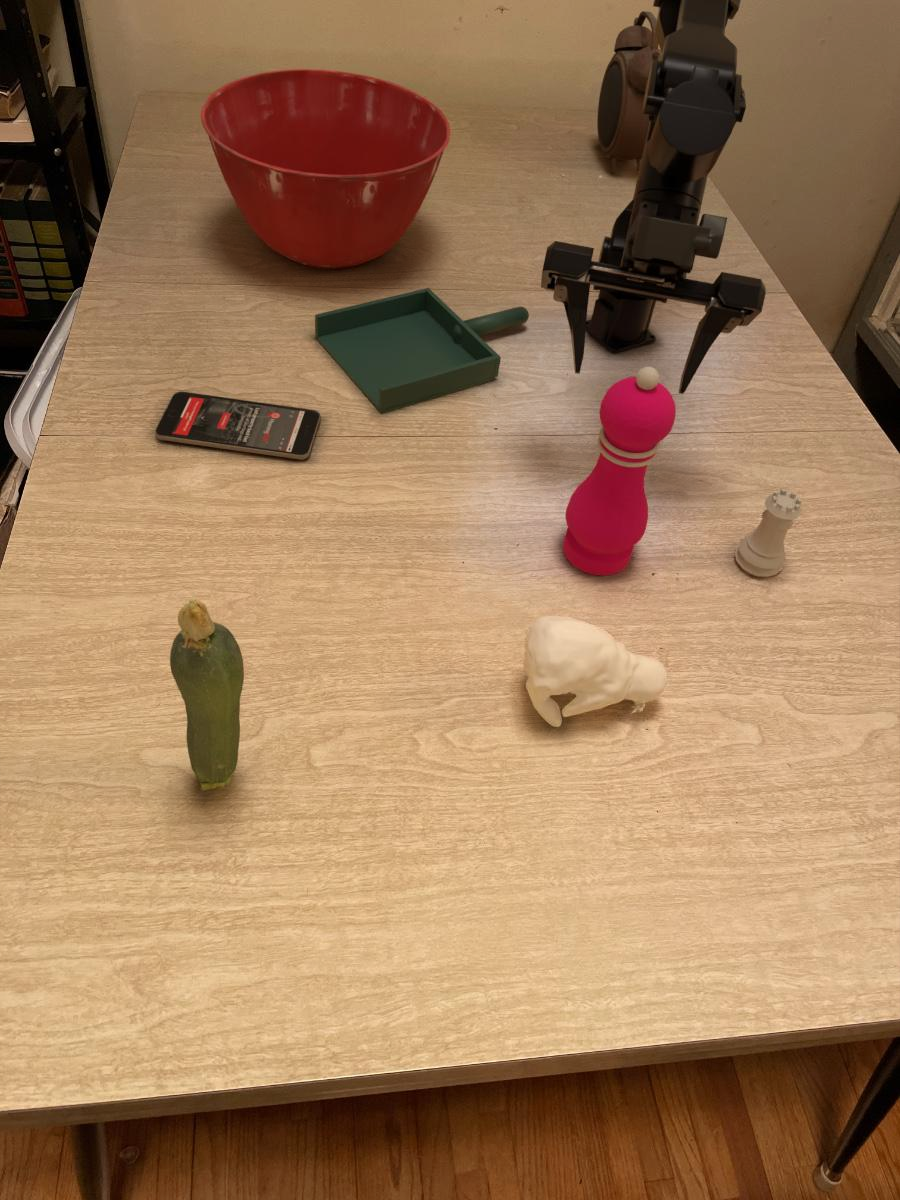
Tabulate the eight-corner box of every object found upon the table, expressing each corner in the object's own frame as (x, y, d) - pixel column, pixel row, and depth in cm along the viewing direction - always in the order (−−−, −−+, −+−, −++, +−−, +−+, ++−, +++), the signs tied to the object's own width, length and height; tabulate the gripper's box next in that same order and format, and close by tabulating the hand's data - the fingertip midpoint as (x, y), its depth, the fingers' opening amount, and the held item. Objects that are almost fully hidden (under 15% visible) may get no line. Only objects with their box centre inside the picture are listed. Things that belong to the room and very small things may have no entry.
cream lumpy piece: (530, 594, 72) (680, 606, 74) (504, 664, 78) (643, 673, 81) (541, 660, 68) (699, 671, 70) (513, 729, 74) (659, 736, 76)
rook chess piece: (781, 584, 88) (814, 520, 82) (733, 574, 88) (762, 510, 83) (780, 551, 91) (811, 487, 85) (733, 541, 91) (761, 477, 86)
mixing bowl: (483, 270, 121) (499, 146, 109) (279, 325, 108) (273, 191, 97) (367, 176, 135) (370, 57, 124) (175, 214, 123) (159, 86, 112)
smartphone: (175, 390, 97) (321, 410, 97) (176, 396, 98) (321, 416, 98) (152, 434, 92) (307, 456, 92) (153, 440, 93) (307, 462, 93)
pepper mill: (584, 589, 85) (639, 405, 71) (542, 536, 89) (586, 352, 75) (650, 567, 88) (715, 385, 73) (606, 516, 92) (660, 335, 77)
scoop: (381, 413, 99) (382, 390, 97) (314, 337, 108) (314, 314, 105) (562, 360, 109) (567, 338, 107) (489, 294, 117) (492, 272, 115)
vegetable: (195, 750, 71) (161, 560, 56) (255, 749, 71) (237, 560, 56) (189, 803, 68) (152, 617, 53) (252, 802, 68) (232, 617, 53)
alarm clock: (583, 140, 151) (611, -5, 136) (628, 142, 152) (660, -1, 137) (603, 182, 141) (635, 32, 126) (650, 184, 142) (688, 36, 127)
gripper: (565, 145, 75) (525, 342, 76) (803, 187, 74) (758, 387, 75) (559, 197, 87) (524, 369, 88) (766, 234, 85) (727, 408, 86)
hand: (629, 382), depth 84 cm, fingers open, 9 cm apart
